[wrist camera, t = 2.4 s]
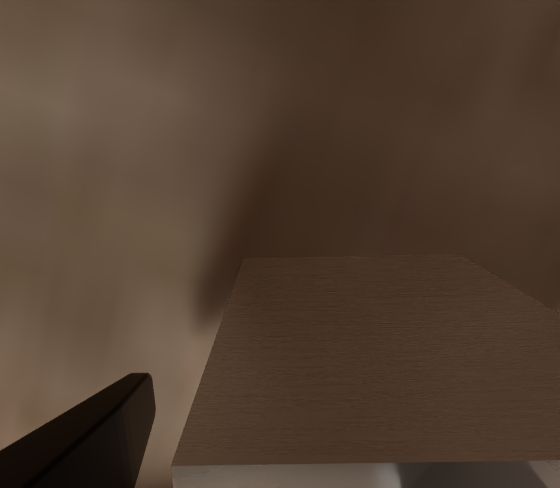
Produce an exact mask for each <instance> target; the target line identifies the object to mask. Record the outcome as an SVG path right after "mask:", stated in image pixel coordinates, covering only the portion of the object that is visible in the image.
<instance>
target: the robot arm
mask: <svg viewBox="0 0 560 488" xmlns="http://www.w3.org/2000/svg"><path fill="white" fill-rule="evenodd" d="M155 411H156V406H155V398H154V389H153V381H152V377H151V375H150V374H149V373H131V374H128V375H127V376H125V377H123V378H122V379H120V380H118V381H117V382H115V383H113V384H112V385H110V386H108V387H107V388H105V389H103V390H102V391H100V392H98V393H96V394H95V395H93V396H91V397H90V398H88V399H86V400H85V401H83V402H81V403H80V404H78V405H76V406H75V407H73V408H71V409H70V410H68V411H66V412H64V413H63V414H61V415H59V416H58V417H56V418H54V419H53V420H51V421H49V422H48V423H46V424H44V425H43V426H41V427H39V428H38V429H36V430H34V431H32V432H31V433H29V434H27V435H26V436H24V437H22V438H21V439H19V440H17V441H16V442H14V443H12V444H11V445H9V446H7V447H6V448H4V449H2V450H1V451H0V488H134V487H135V484H136V481H137V477H138V474H139V470H140V467H141V463H142V460H143V456H144V453H145V449H146V446H147V442H148V439H149V435H150V432H151V429H152V425H153V422H154V418H155Z"/></svg>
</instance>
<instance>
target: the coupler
mask: <svg viewBox="0 0 560 488" xmlns="http://www.w3.org/2000/svg"><path fill="white" fill-rule="evenodd" d="M171 473H172V481H173V488H560V314H558V313H557V312H555V311H554V310H552V309H550V308H549V307H547V306H545V305H544V304H542V303H540V302H539V301H537V300H535V299H534V298H532V297H530V296H529V295H527V294H525V293H524V292H522V291H520V290H519V289H517V288H515V287H514V286H512V285H510V284H509V283H507V282H505V281H504V280H502V279H500V278H499V277H497V276H495V275H494V274H492V273H490V272H489V271H487V270H486V269H484V268H482V267H481V266H479V265H477V264H476V263H474V262H472V261H471V260H469V259H467V258H466V257H464V256H462V255H461V254H425V255H377V256H330V257H282V258H243V261H242V263H241V266H240V269H239V272H238V275H237V278H236V281H235V284H234V286H233V289H232V292H231V295H230V298H229V301H228V304H227V306H226V309H225V312H224V315H223V318H222V321H221V324H220V326H219V329H218V332H217V335H216V338H215V341H214V344H213V346H212V349H211V352H210V355H209V358H208V361H207V364H206V366H205V369H204V372H203V375H202V378H201V381H200V384H199V387H198V389H197V392H196V395H195V398H194V401H193V404H192V407H191V409H190V412H189V415H188V418H187V421H186V424H185V427H184V429H183V432H182V435H181V438H180V441H179V444H178V447H177V449H176V452H175V455H174V458H173V461H172V464H171Z"/></svg>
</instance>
